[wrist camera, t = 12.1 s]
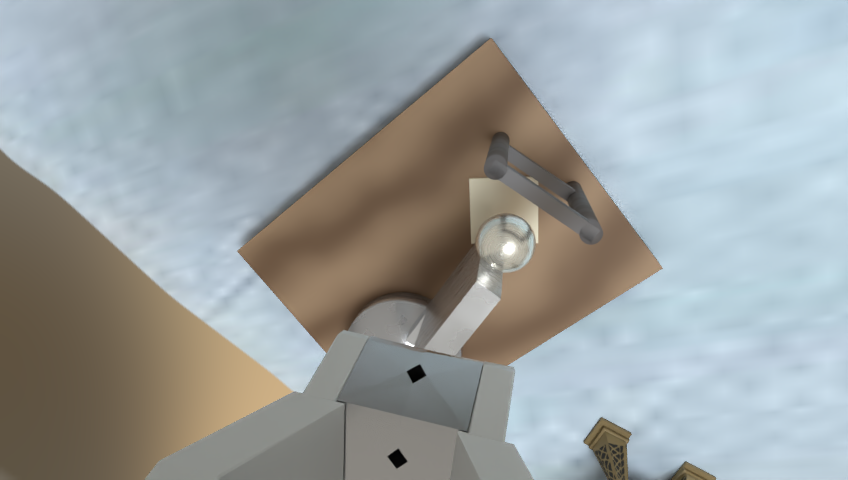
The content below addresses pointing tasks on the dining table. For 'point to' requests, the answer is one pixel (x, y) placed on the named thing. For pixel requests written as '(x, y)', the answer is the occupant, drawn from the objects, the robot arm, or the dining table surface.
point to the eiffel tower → (613, 453)
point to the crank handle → (454, 292)
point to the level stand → (455, 217)
